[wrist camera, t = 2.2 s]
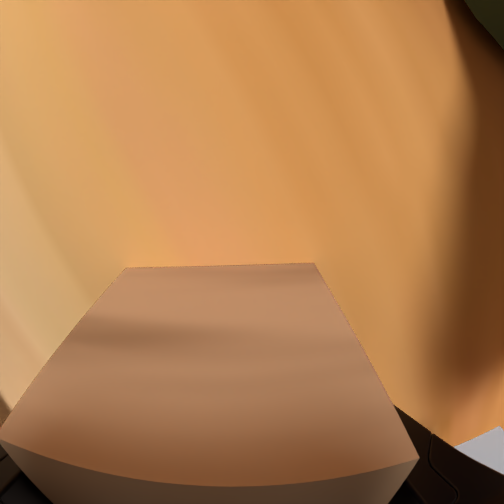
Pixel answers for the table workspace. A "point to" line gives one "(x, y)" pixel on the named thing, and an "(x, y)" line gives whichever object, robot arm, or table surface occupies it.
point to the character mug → (490, 16)
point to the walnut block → (211, 397)
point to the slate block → (486, 449)
